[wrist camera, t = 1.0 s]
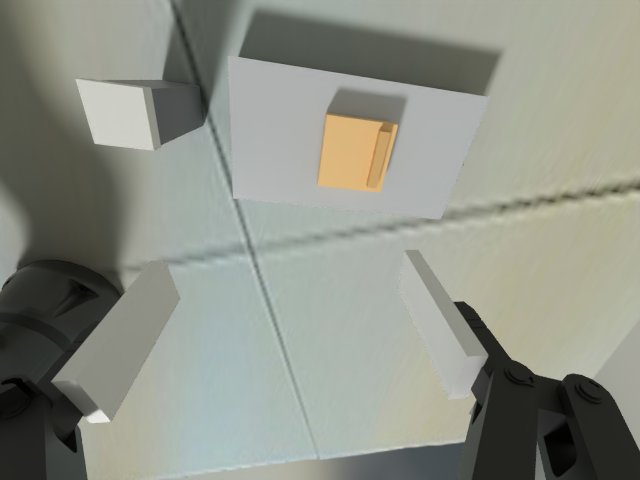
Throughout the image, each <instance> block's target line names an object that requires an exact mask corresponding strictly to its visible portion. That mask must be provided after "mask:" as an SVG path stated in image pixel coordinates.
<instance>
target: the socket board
mask: <svg viewBox="0 0 640 480" xmlns="http://www.w3.org/2000/svg"><path fill="white" fill-rule="evenodd" d="M228 77H229V103H230V128H231V154H232V180H233V199H242V200H252V201H262V202H272V203H282V204H292V205H302V206H312V207H321V208H331V209H341V210H351V211H361V212H371V213H381V214H391V215H401V216H411V217H421V218H431V219H441V217H442V214H443V212H444V209H445V207H446V204H447V202H448V200H449V197H450V195H451V192H452V190H453V187H454V185H455V182H456V180H457V177H458V175H459V173H460V170H461V168H462V165H463V163H464V160H465V158H466V155H467V153H468V151H469V148H470V146H471V143H472V141H473V138H474V136H475V133H476V131H477V129H478V126H479V124H480V121H481V119H482V116H483V114H484V111H485V109H486V107H487V104H488V102H489V99H490V97H486V96H480V95H473V94H467V93H461V92H455V91H448V90H442V89H436V88H429V87H423V86H417V85H411V84H404V83H398V82H392V81H386V80H379V79H373V78H367V77H360V76H354V75H348V74H342V73H335V72H329V71H323V70H316V69H310V68H304V67H298V66H291V65H285V64H279V63H273V62H266V61H260V60H254V59H247V58H241V57H235V56H229V55H228ZM326 113H332V114H340V115H347V116H354V117H361V118H368V119H375V120H382V121H389V122H393V123H396V124H398V128H397V132H396V135H395V139H394V143H393V147H392V151H391V154H390V158H389V162H388V166H387V169H386V173H385V177H384V181H383V185H382V188H381V192H380V193H379V192H370V191H361V190H352V189H343V188H333V187H324V186H318V184H317V176H318V168H319V160H320V152H321V145H322V137H323V129H324V122H325V114H326Z"/></svg>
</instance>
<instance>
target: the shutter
mask: <svg viewBox="0 0 640 480" xmlns="http://www.w3.org/2000/svg"><path fill="white" fill-rule="evenodd" d="M397 128H398V124H396V123H393V122H389V121H382V120H375V119H368V118H361V117H354V116H347V115H340V114H332V113H326V114H325V122H324V129H323V137H322V145H321V152H320V160H319V168H318V176H317V184H318V186H324V187H333V188H343V189H352V190H361V191H370V192H379V193H380V192H381V188H382V185H383V181H384V177H385V173H386V169H387V166H388V162H389V158H390V154H391V151H392V147H393V143H394V139H395V135H396V132H397Z"/></svg>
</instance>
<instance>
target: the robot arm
mask: <svg viewBox="0 0 640 480" xmlns="http://www.w3.org/2000/svg"><path fill="white" fill-rule="evenodd" d="M398 290H399V292H400V294H401V296H402V298H403V301H404V303H405V305H406V307H407V309H408V312H409V314H410V316H411V318H412V320H413V323H414V325H415V327H416V329H417V331H418V334H419V336H420V338H421V340H422V342H423V345H424V347H425V349H426V351H427V354H428V356H429V358H430V360H431V362H432V365H433V367H434V369H435V371H436V373H437V376H438V378H439V380H440V382H441V384H442V387H443V389H444V391H445V393H446V395H447V398H448V399H464V398H467V397H468V395H469V393H470V391H471V390H472V392H473V394H474V396H475V398H476V399H477V400H476V402H475V404H474V406H473V408H472V409H471V411H470V413H469V414H471V415H472V416H471V420H470V424H469V428H468V432H467V436H466V441H465V445H464V449H463V453H462V457H461V461H460V465H459V469H458V473H457V477H456V480H535V465H536V445H537V441H538V446H539V450H540V454H541V459H542V463H543V468H544V472H545V477H546V480H640V451H639V449H638V447H637V445H636V442H635V441H634V438H633V436H632V434H631V432H630V430H629V428H628V426H627V424H626V422H625V420H624V418H623V416H622V414H621V412H620V410H619V408H618V406H617V404H616V402H615V400H614V399H613V397H612V396H611V395H610V393H609V392H608V391H607V390H606V389H605V388H603V387H602V386H601V385H600V384H598V383H597V382H595V381H594V380H592V379H590V378H588V377H585V376H583V375H579V374H569V375H566V377H565V378H564V379H563V380H562V381H560V380H555V379H551V378H547V377H543V376H538V375H535V374H534V373H533V372H532V371H531V370H530V369H528V368H527V367H526V366H524V365H523V364H521V363H519V362H517V361H514V360H512V359H511V358H510V357H509V356H508V354H507V353H506V352H505V350H504V349H503V348H502V346H501V345H500V344H499V342H498V341H497V340H496V338H495V337H494V336H493V334H492V333H491V332H490V330H489V329H487V326H486V325H485V323H484V322H483V321H481V318H480V317H479V315H478V314H477V313H476V311H475V310H474V309H473V308H472V307H470V306H469V305H468V304H466V303H465V302H464V301H463V302H453V301H452V300H451V298H450V297H449V295H448V294H447V292H446V291H445V289H444V288H443V286H442V285H441V283H440V282H439V280H438V279H437V277H436V276H435V274H434V273H433V272H432V270H431V269H430V267H429V266H428V264H427V263H426V261H425V260H424V258H423V257H422V255H421V254H420V252H419V251H418V250H405V251H404V256H403V262H402V267H401V273H400V278H399V284H398ZM179 300H180V297H179V294H178V292H177V289H176V286H175V284H174V281H173V279H172V276H171V274H170V271H169V269H168V266H167V264H166V261H152V262H150V263H149V265H148V266H147V267H146V268H145V269H144V271H143V272H142V273H141V274H140V275H139V277H138V278H137V279H136V280H135V281H134V283H133V284H132V285H131V286H130V287H129V289H128V290H127V291H126V292H125V293H124V295H123V296H122V297H121V296H120V295H119V293H118V292H117V290H116V289H115V288H114V287H113V286H112V285H111V284H110V283H109V282H108V281H107V280H105V279H104V278H103V277H101V276H100V275H98V274H96V273H94V272H93V271H91V270H89V269H86V268H84V267H81V266H79V265H76V264H72V263H68V262H63V261H55V260H44V261H37V262H33V263H30V264H28V265H26V266H25V267H23V268H22V269H20V270H19V271H17V272H16V273H14V274H13V275H12V276H10V277H9V278H8V279H7V281H6V282H5V283H4V285H3V287H2V291H1V292H0V480H88V479H87V472H86V465H85V458H84V452H83V445H82V438H81V431H80V429H79V427H78V425H77V424H78V422H79V421H80V419H81V418H82V416H84V417H85V418H86V419H87V420H88V421H89V422H90V423H100V422H111V421H112V420H113V418H114V416H115V414H116V412H117V411H118V409H119V407H120V405H121V403H122V402H123V400H124V398H125V396H126V395H127V393H128V391H129V389H130V387H131V386H132V384H133V382H134V380H135V378H136V377H137V375H138V373H139V371H140V370H141V368H142V366H143V364H144V362H145V361H146V359H147V357H148V355H149V353H150V352H151V350H152V348H153V346H154V345H155V343H156V341H157V339H158V337H159V336H160V334H161V332H162V330H163V328H164V327H165V325H166V323H167V321H168V320H169V318H170V316H171V314H172V312H173V311H174V309H175V307H176V305H177V303H178V302H179Z"/></svg>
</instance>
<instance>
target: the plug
mask: <svg viewBox="0 0 640 480" xmlns="http://www.w3.org/2000/svg"><path fill="white" fill-rule="evenodd" d="M76 82H77V86H78V89H79V92H80V96H81V99H82V103H83V106H84V109H85V113H86V116H87V120H88V123H89V126H90V130H91V133H92V137H93V140H94V143H95V144H101V145H110V146H118V147H127V148H136V149H144V150H153V151H154V150H156V149H158V148H160V147H161V145H162V144H164V143H167V142H169V141H171V140H173V139H175V138H177V137H179V136H182V135H184V134H186V133H188V132H190V131H192V130H195V129H197V128H199V127H201V126H203V114H202V103H201V91H200V86H199V85H192V84H185V83H178V82H172V81H165V80H93V79H76Z"/></svg>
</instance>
